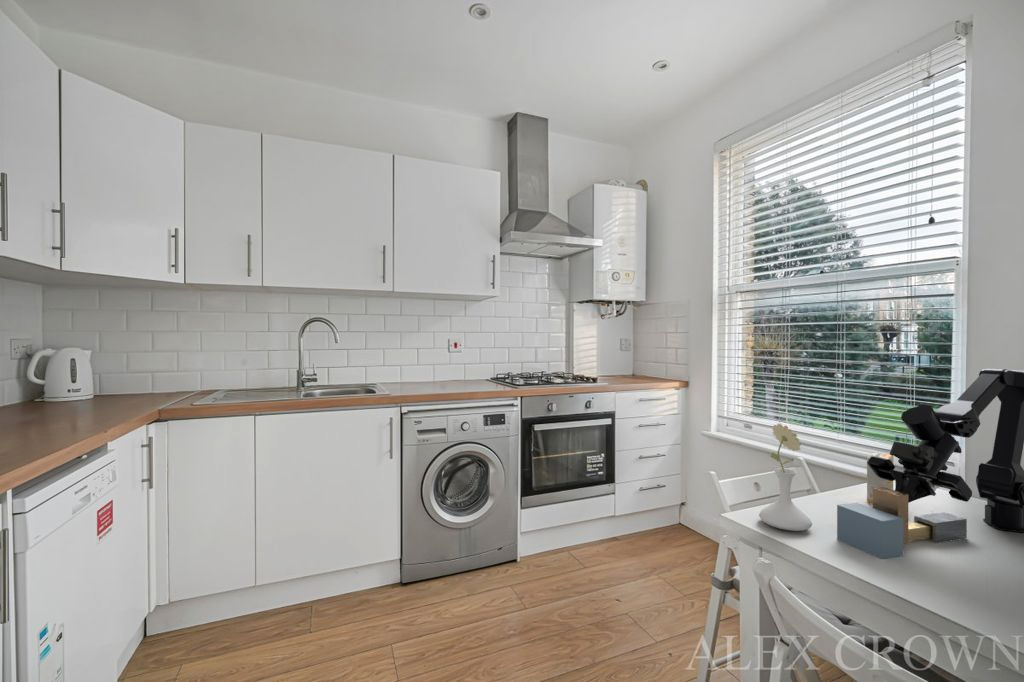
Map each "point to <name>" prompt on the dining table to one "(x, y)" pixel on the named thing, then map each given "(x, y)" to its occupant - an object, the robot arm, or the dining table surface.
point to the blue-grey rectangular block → (870, 530)
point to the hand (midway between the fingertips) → (896, 504)
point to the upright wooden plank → (900, 513)
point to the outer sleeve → (944, 526)
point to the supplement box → (876, 478)
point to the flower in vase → (785, 489)
